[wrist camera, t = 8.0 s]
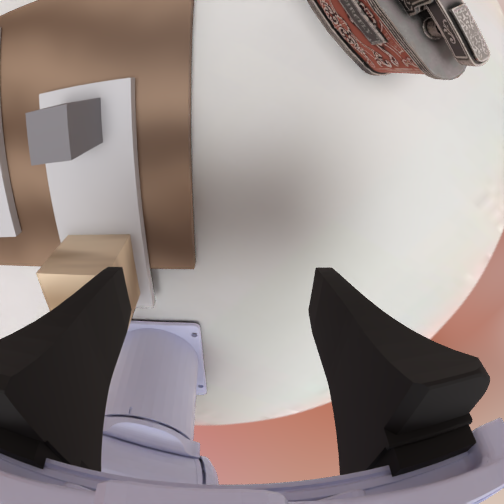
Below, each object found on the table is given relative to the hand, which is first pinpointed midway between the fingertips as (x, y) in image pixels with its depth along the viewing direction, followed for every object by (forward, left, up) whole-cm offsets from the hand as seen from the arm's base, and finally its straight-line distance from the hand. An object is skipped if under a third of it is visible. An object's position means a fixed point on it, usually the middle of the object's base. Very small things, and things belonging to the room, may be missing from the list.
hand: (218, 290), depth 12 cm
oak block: (-4, +8, -8) cm, 12 cm away
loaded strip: (-1, +8, -8) cm, 12 cm away
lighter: (+12, -7, -10) cm, 17 cm away
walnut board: (+5, +12, -9) cm, 16 cm away
